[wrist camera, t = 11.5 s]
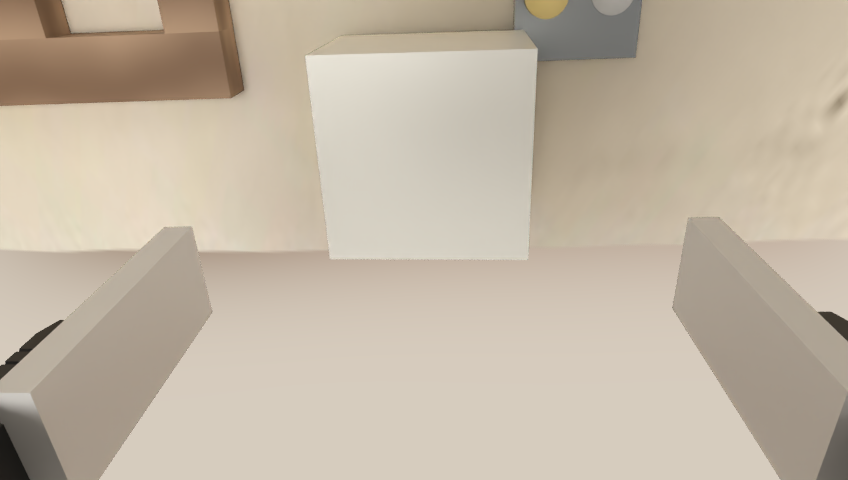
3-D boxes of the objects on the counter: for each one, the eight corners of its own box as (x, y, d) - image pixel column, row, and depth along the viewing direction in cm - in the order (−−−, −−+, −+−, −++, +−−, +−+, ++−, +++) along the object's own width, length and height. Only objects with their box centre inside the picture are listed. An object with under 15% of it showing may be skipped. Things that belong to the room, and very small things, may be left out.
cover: (342, 35, 29) (304, 55, 22) (523, 29, 28) (537, 48, 22) (357, 202, 33) (330, 259, 26) (517, 201, 32) (528, 259, 26)
